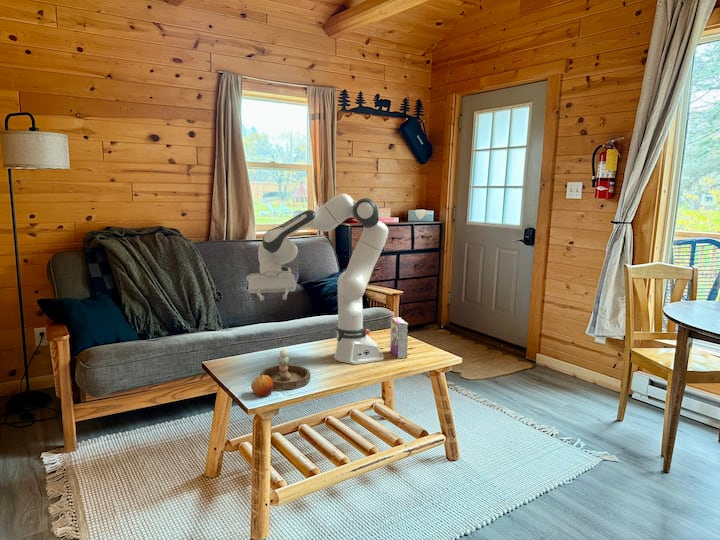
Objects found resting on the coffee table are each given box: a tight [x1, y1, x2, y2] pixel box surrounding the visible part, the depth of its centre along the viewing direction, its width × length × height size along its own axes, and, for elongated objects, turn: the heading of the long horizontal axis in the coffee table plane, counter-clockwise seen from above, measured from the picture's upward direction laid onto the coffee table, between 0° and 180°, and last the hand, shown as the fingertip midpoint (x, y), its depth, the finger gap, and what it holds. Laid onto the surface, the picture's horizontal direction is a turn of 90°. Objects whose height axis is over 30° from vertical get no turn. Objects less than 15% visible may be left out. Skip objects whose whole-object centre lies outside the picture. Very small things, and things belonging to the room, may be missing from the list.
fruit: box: [250, 375, 274, 398], centre depth 182 cm, size 8×8×8 cm
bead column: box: [278, 349, 290, 376], centre depth 200 cm, size 4×4×10 cm
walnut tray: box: [259, 364, 311, 391], centre depth 196 cm, size 19×19×3 cm
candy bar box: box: [389, 317, 409, 360], centre depth 229 cm, size 11×5×16 cm, turn 14°
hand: (273, 299), depth 209 cm, fingers open, 8 cm apart
